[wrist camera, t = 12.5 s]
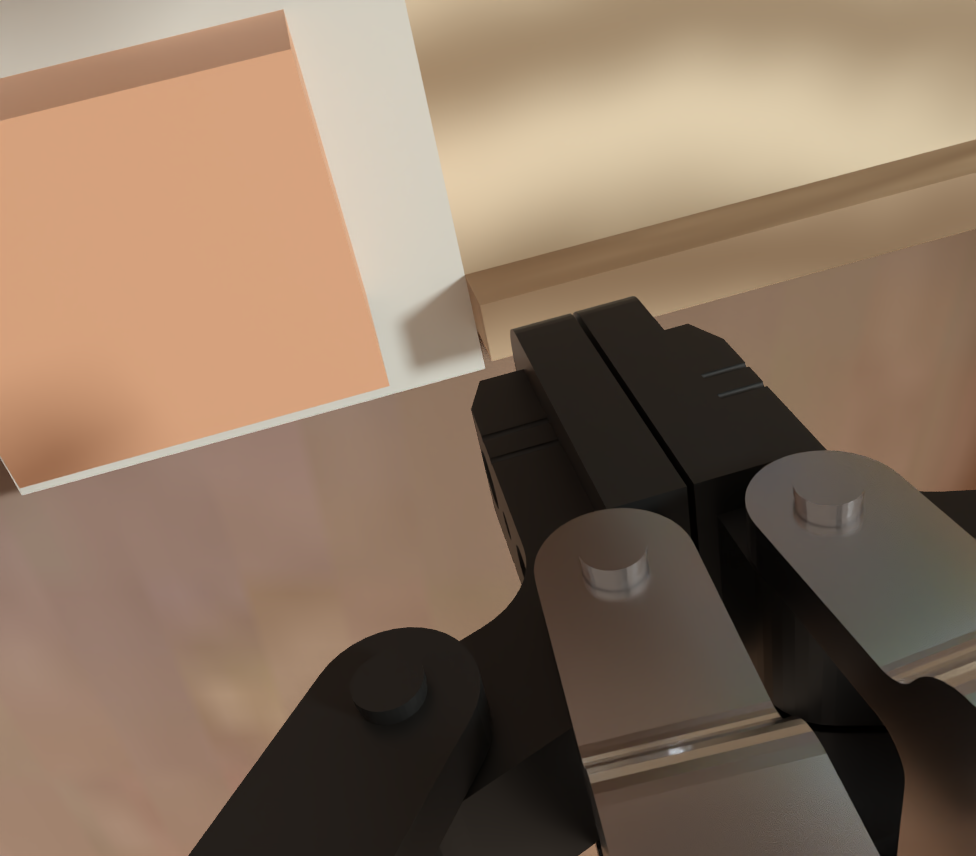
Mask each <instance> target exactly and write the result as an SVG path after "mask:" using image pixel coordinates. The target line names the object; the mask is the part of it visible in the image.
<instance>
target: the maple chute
mask: <svg viewBox="0 0 976 856" xmlns="http://www.w3.org/2000/svg"><path fill="white" fill-rule="evenodd" d="M405 3H406V8H407V13H408V17H409V22H410V26H411V31H412V36H413V40H414V45H415V49H416V54H417V58H418V63H419V68H420V72H421V77H422V81H423V86H424V91H425V95H426V100H427V104H428V109H429V113H430V118H431V123H432V127H433V132H434V136H435V141H436V146H437V150H438V155H439V159H440V164H441V168H442V173H443V178H444V182H445V187H446V191H447V196H448V200H449V205H450V210H451V214H452V219H453V223H454V228H455V233H456V237H457V242H458V246H459V251H460V255H461V260H462V265H463V269H464V274H465V278H466V283H467V288H468V292H469V297H470V301H471V306H472V310H473V315H474V320H475V324H476V329H477V331H478V333H479V335H480V337H481V339H482V341H483V343H484V345H485V348H486V350H487V352H488V354H489V356H490V358H491V360H492V361H495V360H498V359H502V358H506V357H509V356H513V352H512V346H511V339H510V330H511V329H514V328H517V327H521V326H525V325H528V324H532V323H536V322H539V321H543V320H547V319H550V318H554V317H558V316H561V315H565V314H569V313H571V314H572V315H573V313H574V312H575V311H579V310H583V309H587V308H590V307H594V306H598V305H601V304H605V303H609V302H612V301H616V300H620V299H623V298H627V297H631V296H635V297H637V298H638V299H639V300H640V302H641V303H642V304H643V305H644V306H645V308H646V309H647V310H648V311H649V312H650V314H651V315H652V316H653V317H656V316H659V315H663V314H667V313H670V312H674V311H678V310H681V309H685V308H689V307H692V306H696V305H700V304H703V303H707V302H711V301H714V300H718V299H722V298H725V297H729V296H733V295H736V294H740V293H743V292H747V291H751V290H754V289H758V288H762V287H765V286H769V285H773V284H776V283H780V282H784V281H787V280H791V279H795V278H798V277H802V276H806V275H809V274H813V273H817V272H820V271H824V270H828V269H831V268H835V267H839V266H842V265H846V264H850V263H853V262H857V261H861V260H864V259H868V258H872V257H875V256H879V255H882V254H886V253H890V252H893V251H897V250H901V249H904V248H908V247H912V246H915V245H919V244H923V243H926V242H930V241H934V240H937V239H941V238H945V237H948V236H952V235H956V234H959V233H963V232H967V231H970V230H974V229H976V0H405Z"/></svg>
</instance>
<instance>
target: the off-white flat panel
mask: <svg viewBox="0 0 976 856" xmlns="http://www.w3.org/2000/svg"><path fill="white" fill-rule="evenodd" d="M282 9H283V10H284V13H285V17H286V20H287V23H288V27H289V30H290V34H291V37H292V41H293V44H294V48H295V51H296V54H297V58H298V61H299V65H300V68H301V72H302V75H303V78H304V82H305V85H306V89H307V92H308V96H309V99H310V103H311V106H312V109H313V113H314V116H315V120H316V123H317V127H318V130H319V134H320V137H321V140H322V144H323V147H324V151H325V154H326V158H327V161H328V164H329V168H330V171H331V175H332V178H333V182H334V185H335V189H336V192H337V195H338V199H339V202H340V206H341V209H342V213H343V216H344V220H345V223H346V226H347V230H348V233H349V237H350V240H351V244H352V247H353V250H354V254H355V257H356V261H357V264H358V268H359V271H360V275H361V278H362V281H363V285H364V288H365V292H366V295H367V299H368V303H369V307H370V311H371V315H372V319H373V323H374V327H375V330H376V334H377V338H378V342H379V346H380V350H381V354H382V358H383V362H384V366H385V370H386V373H387V377H388V381H389V385H390V386H388V387H384V388H381V389H377V390H373V391H370V392H366V393H362V394H359V395H355V396H352V397H348V398H344V399H341V400H337V401H334V402H330V403H326V404H323V405H319V406H316V407H312V408H308V409H305V410H301V411H298V412H294V413H290V414H287V415H283V416H279V417H276V418H272V419H269V420H265V421H261V422H258V423H254V424H251V425H247V426H243V427H240V428H236V429H233V430H229V431H225V432H222V433H218V434H215V435H211V436H207V437H204V438H200V439H196V440H193V441H189V442H186V443H182V444H178V445H175V446H171V447H168V448H164V449H160V450H157V451H153V452H150V453H146V454H142V455H139V456H135V457H132V458H128V459H124V460H121V461H117V462H113V463H110V464H106V465H103V466H99V467H95V468H92V469H88V470H85V471H81V472H77V473H74V474H70V475H67V476H63V477H59V478H56V479H52V480H49V481H45V482H41V483H38V484H34V485H30V486H27V487H23V488H19V487H18V485H17V483H16V482H15V480H14V478H13V476H12V475H11V473H10V471H9V470H8V468H7V466H6V465H5V463H4V461H3V460H2V458H1V456H0V459H1V461H2V462H3V464H4V466H5V467H6V469H7V471H8V472H9V474H10V476H11V478H12V479H13V481H14V483H15V484H16V486H17V488H18V489H19V491H20V493H21V494H22V495H26V494H29V493H33V492H36V491H40V490H44V489H47V488H51V487H55V486H58V485H62V484H66V483H69V482H73V481H77V480H80V479H84V478H88V477H91V476H95V475H99V474H102V473H106V472H110V471H113V470H117V469H120V468H124V467H128V466H131V465H135V464H139V463H142V462H146V461H150V460H153V459H157V458H161V457H164V456H168V455H172V454H175V453H179V452H183V451H186V450H190V449H194V448H197V447H201V446H204V445H208V444H212V443H215V442H219V441H223V440H226V439H230V438H234V437H237V436H241V435H245V434H248V433H252V432H256V431H259V430H263V429H267V428H270V427H274V426H278V425H281V424H285V423H288V422H292V421H296V420H299V419H303V418H307V417H310V416H314V415H318V414H321V413H325V412H329V411H332V410H336V409H340V408H343V407H347V406H351V405H354V404H358V403H362V402H365V401H369V400H372V399H376V398H380V397H383V396H387V395H391V394H394V393H398V392H402V391H405V390H409V389H413V388H416V387H420V386H424V385H427V384H431V383H435V382H438V381H442V380H446V379H449V378H453V377H456V376H460V375H464V374H467V373H471V372H475V371H478V370H482V369H485V365H484V361H483V356H482V352H481V347H480V343H479V338H478V333H477V329H476V324H475V320H474V315H473V310H472V306H471V301H470V297H469V292H468V288H467V283H466V278H465V274H464V269H463V265H462V260H461V255H460V251H459V246H458V242H457V237H456V233H455V228H454V223H453V219H452V214H451V210H450V205H449V200H448V196H447V191H446V187H445V182H444V178H443V173H442V168H441V164H440V159H439V155H438V150H437V146H436V141H435V136H434V132H433V127H432V123H431V118H430V113H429V109H428V104H427V100H426V95H425V91H424V86H423V81H422V77H421V72H420V68H419V63H418V58H417V54H416V49H415V45H414V40H413V36H412V31H411V26H410V22H409V17H408V13H407V8H406V3H405V0H0V78H4V77H8V76H12V75H16V74H20V73H24V72H28V71H32V70H37V69H41V68H45V67H49V66H53V65H57V64H61V63H65V62H69V61H73V60H78V59H82V58H86V57H90V56H94V55H98V54H102V53H106V52H110V51H114V50H118V49H123V48H127V47H131V46H135V45H139V44H143V43H147V42H151V41H155V40H159V39H164V38H168V37H172V36H176V35H180V34H184V33H188V32H192V31H196V30H200V29H204V28H209V27H213V26H217V25H221V24H225V23H229V22H233V21H237V20H241V19H245V18H250V17H254V16H258V15H262V14H266V13H270V12H274V11H278V10H282Z"/></svg>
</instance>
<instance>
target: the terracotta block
mask: <svg viewBox="0 0 976 856" xmlns="http://www.w3.org/2000/svg"><path fill="white" fill-rule="evenodd" d="M388 386H390V385H389V381H388V377H387V373H386V370H385V366H384V362H383V358H382V354H381V350H380V346H379V342H378V338H377V334H376V330H375V327H374V323H373V319H372V315H371V311H370V307H369V303H368V299H367V295H366V292H365V288H364V285H363V281H362V278H361V275H360V271H359V268H358V264H357V261H356V257H355V254H354V250H353V247H352V244H351V240H350V237H349V233H348V230H347V226H346V223H345V220H344V216H343V213H342V209H341V206H340V202H339V199H338V195H337V192H336V189H335V185H334V182H333V178H332V175H331V171H330V168H329V164H328V161H327V158H326V154H325V151H324V147H323V144H322V140H321V137H320V134H319V130H318V127H317V123H316V120H315V116H314V113H313V109H312V106H311V103H310V99H309V96H308V92H307V89H306V85H305V82H304V78H303V75H302V72H301V68H300V65H299V61H298V58H297V54H296V51H295V48H294V44H293V41H292V37H291V34H290V30H289V27H288V23H287V20H286V17H285V13H284V10H283V9H282V10H278V11H274V12H270V13H266V14H262V15H258V16H254V17H250V18H245V19H241V20H237V21H233V22H229V23H225V24H221V25H217V26H213V27H209V28H204V29H200V30H196V31H192V32H188V33H184V34H180V35H176V36H172V37H168V38H164V39H159V40H155V41H151V42H147V43H143V44H139V45H135V46H131V47H127V48H123V49H118V50H114V51H110V52H106V53H102V54H98V55H94V56H90V57H86V58H82V59H78V60H73V61H69V62H65V63H61V64H57V65H53V66H49V67H45V68H41V69H37V70H32V71H28V72H24V73H20V74H16V75H12V76H8V77H4V78H0V456H1V458H2V460H3V461H4V463H5V465H6V466H7V468H8V470H9V471H10V473H11V475H12V476H13V478H14V480H15V482H16V483H17V485H18V487H19V488H23V487H27V486H30V485H34V484H38V483H41V482H45V481H49V480H52V479H56V478H59V477H63V476H67V475H70V474H74V473H77V472H81V471H85V470H88V469H92V468H95V467H99V466H103V465H106V464H110V463H113V462H117V461H121V460H124V459H128V458H132V457H135V456H139V455H142V454H146V453H150V452H153V451H157V450H160V449H164V448H168V447H171V446H175V445H178V444H182V443H186V442H189V441H193V440H196V439H200V438H204V437H207V436H211V435H215V434H218V433H222V432H225V431H229V430H233V429H236V428H240V427H243V426H247V425H251V424H254V423H258V422H261V421H265V420H269V419H272V418H276V417H279V416H283V415H287V414H290V413H294V412H298V411H301V410H305V409H308V408H312V407H316V406H319V405H323V404H326V403H330V402H334V401H337V400H341V399H344V398H348V397H352V396H355V395H359V394H362V393H366V392H370V391H373V390H377V389H381V388H384V387H388Z"/></svg>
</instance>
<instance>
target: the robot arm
mask: <svg viewBox="0 0 976 856" xmlns="http://www.w3.org/2000/svg"><path fill="white" fill-rule="evenodd" d="M510 339H511V346H512V352H513V357H514V362H515V367H516V371H515V372H511V373H508V374H504V375H501V376H497V377H493V378H490V379H486V380H482V381H480V382H479V386H478V389H477V392H476V395H475V398H474V402H473V405H472V408H471V411H472V415H473V419H474V423H475V428H476V432H477V436H478V440H479V445H480V449H481V453H482V457H483V461H484V466H485V470H486V474H487V478H488V483H489V487H490V491H491V495H492V499H493V504H494V508H495V511H496V514H497V517H498V520H499V523H500V525H501V528H502V531H503V534H504V537H505V539H506V541H507V545H508V548H509V551H510V553H511V556H512V559H513V562H514V563H515V567H516V570H517V573H518V576H519V579H520V581H521V584H522V585H521V588H520V590H519V591H518V593H517V595H516V596H515V598H514V599H513V601H512V602H511V603H510V604H509V605H508V607H507V608H506V609H505V610H504V611H503V612H502V613H501V614H499V615H498V616H497V617H496V618H495V619H494V620H492V621H491V622H489V623H488V624H486V625H485V626H484V627H482V628H481V629H479V630H477V631H476V632H474V633H472V634H471V635H469V636H467V637H466V638H464V639H462V640H461V641H458V640H457V639H455V638H453V637H451V636H450V635H448V634H446V633H443V632H440V631H437V630H433V629H427V628H414V627H407V628H398V629H392V630H388V631H384V632H380V633H377V634H375V635H372V636H369V637H367V638H365V639H363V640H361V641H359V642H357V643H355V644H353V645H352V646H350V647H349V648H347V649H346V650H345V651H343V652H342V653H340V654H339V655H338V656H337V657H336V658H335V659H334V660H333V661H332V662H330V663H329V665H328V666H327V667H326V668H325V669H324V670H323V672H322V673H321V674H320V675H319V677H318V678H317V679H316V681H315V682H314V684H313V685H312V686H311V688H310V689H309V690H308V692H307V693H306V695H305V696H304V697H303V699H302V700H301V701H300V703H299V704H298V706H297V707H296V708H295V710H294V711H293V712H292V714H291V715H290V717H289V718H288V719H287V721H286V722H285V723H284V725H283V726H282V728H281V729H280V730H279V732H278V733H277V735H276V736H275V737H274V739H273V740H272V741H271V743H270V744H269V746H268V747H267V748H266V750H265V751H264V752H263V754H262V755H261V757H260V758H259V759H258V761H257V762H256V763H255V765H254V766H253V768H252V769H251V770H250V772H249V773H248V774H247V776H246V777H245V779H244V780H243V781H242V783H241V784H240V785H239V787H238V788H237V790H236V791H235V792H234V794H233V795H232V796H231V798H230V799H229V801H228V802H227V803H226V805H225V806H224V807H223V809H222V810H221V812H220V813H219V814H218V816H217V817H216V818H215V820H214V821H213V823H212V824H211V825H210V827H209V828H208V829H207V831H206V832H205V834H204V835H203V836H202V838H201V839H200V840H199V842H198V843H197V845H196V846H195V847H194V849H193V850H192V851H191V853H190V854H189V856H578V855H580V854H581V853H582V852H584V851H585V850H586V849H588V848H589V847H591V846H592V845H593V844H595V847H596V851H597V855H598V856H976V490H965V491H946V492H922V491H918V490H917V489H916V488H914V487H913V486H912V485H911V484H910V483H909V482H907V481H906V480H905V479H904V478H903V477H902V476H900V475H899V474H898V473H897V472H895V471H894V470H892V469H891V468H890V467H888V466H886V465H884V464H882V463H880V462H878V461H876V460H873V459H871V458H868V457H865V456H862V455H858V454H854V453H848V452H841V451H827V450H826V449H825V448H824V447H823V446H822V445H821V443H820V442H819V441H818V440H817V439H816V438H815V437H814V436H813V435H812V434H811V433H810V432H809V431H808V429H807V428H806V427H805V426H804V425H803V424H802V423H801V422H800V421H799V420H798V419H797V418H796V417H795V415H794V414H793V413H792V412H791V411H790V410H789V409H788V408H787V407H786V406H785V405H784V404H783V403H782V401H781V400H780V399H779V398H778V397H777V396H776V395H775V394H774V393H773V392H772V391H771V390H770V389H769V388H768V386H766V387H764V385H763V381H762V380H761V379H760V378H759V377H758V376H757V375H756V374H755V372H754V371H753V370H752V369H751V368H750V367H746V365H745V362H744V361H743V360H742V358H741V357H740V356H739V355H738V354H737V353H736V352H735V351H734V350H733V349H732V348H731V347H730V346H729V344H728V343H727V342H726V341H725V340H724V339H722V338H720V337H718V336H715V335H713V334H711V333H708V332H706V331H704V330H701V329H699V328H697V327H694V326H692V325H690V324H685V325H682V326H678V327H674V328H671V329H667V330H664V329H663V328H662V327H661V326H660V324H659V323H658V322H657V321H656V320H655V318H654V317H653V316H652V315H651V314H650V312H649V311H648V310H647V309H646V308H645V306H644V305H643V304H642V303H641V302H640V300H639V299H638V298H637V297H635V296H631V297H627V298H623V299H620V300H616V301H612V302H609V303H605V304H601V305H598V306H594V307H590V308H587V309H583V310H579V311H575V312H574V313H573V315H572V314H571V313H569V314H565V315H561V316H558V317H554V318H550V319H547V320H543V321H539V322H536V323H532V324H528V325H525V326H521V327H517V328H514V329H511V330H510Z"/></svg>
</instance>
